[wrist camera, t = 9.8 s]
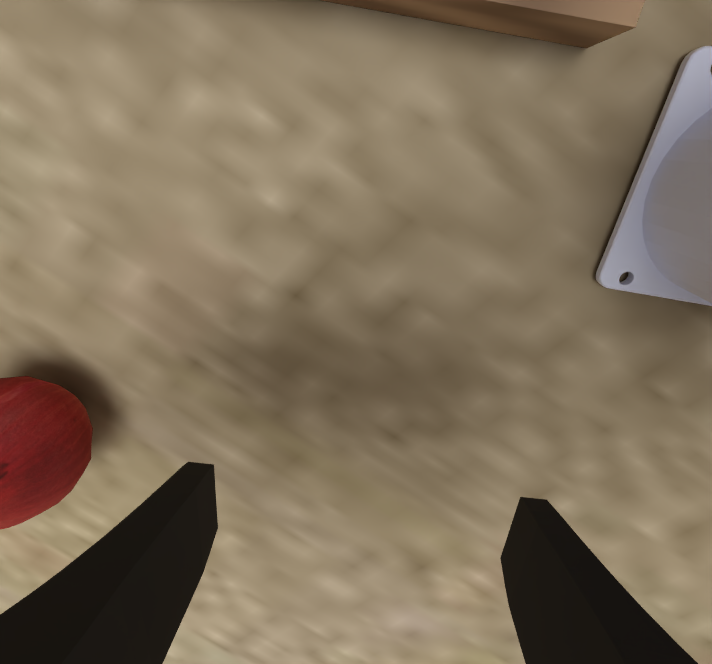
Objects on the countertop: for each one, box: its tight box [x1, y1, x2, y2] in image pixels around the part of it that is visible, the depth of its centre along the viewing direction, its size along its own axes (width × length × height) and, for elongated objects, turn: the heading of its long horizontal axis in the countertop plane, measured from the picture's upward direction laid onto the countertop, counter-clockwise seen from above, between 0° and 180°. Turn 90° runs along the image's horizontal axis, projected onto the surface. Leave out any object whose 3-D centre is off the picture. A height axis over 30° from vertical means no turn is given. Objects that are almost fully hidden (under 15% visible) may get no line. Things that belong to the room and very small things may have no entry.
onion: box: [0, 376, 93, 529], centre depth 17 cm, size 6×6×8 cm
